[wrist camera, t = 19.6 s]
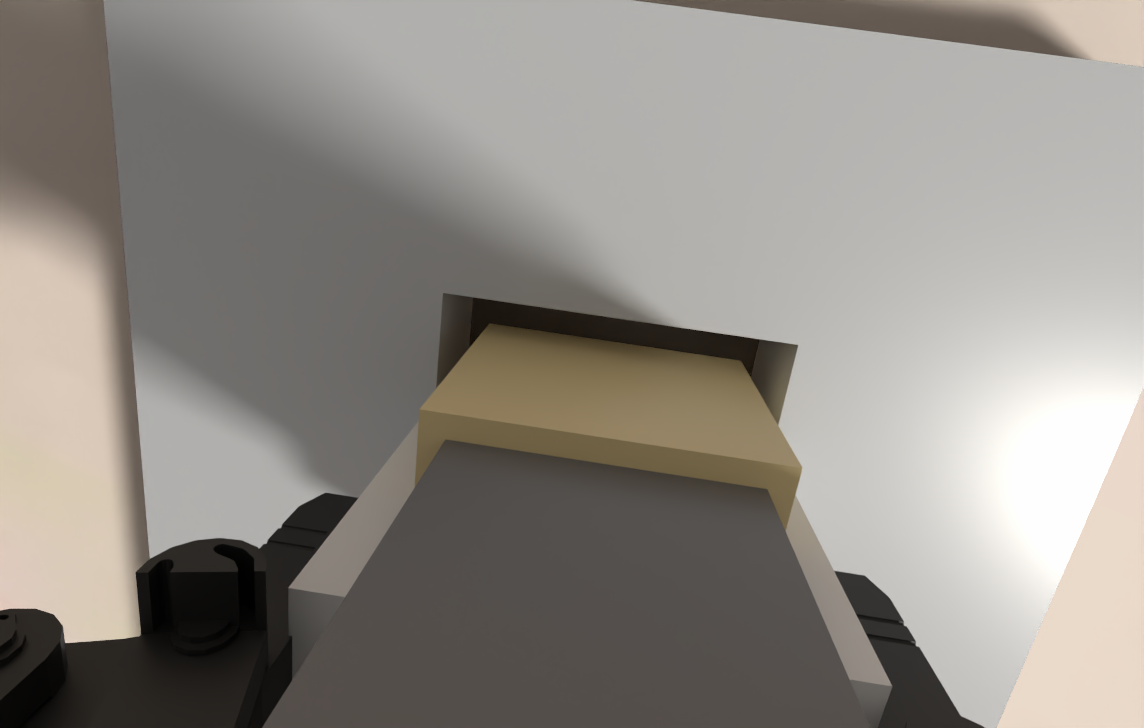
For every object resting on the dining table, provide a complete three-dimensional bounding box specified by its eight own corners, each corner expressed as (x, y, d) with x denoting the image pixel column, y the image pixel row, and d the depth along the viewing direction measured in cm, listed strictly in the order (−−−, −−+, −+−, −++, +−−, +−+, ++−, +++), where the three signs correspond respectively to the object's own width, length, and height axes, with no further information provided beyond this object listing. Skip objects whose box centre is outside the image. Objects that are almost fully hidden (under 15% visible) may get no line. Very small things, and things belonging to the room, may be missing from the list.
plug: (468, 539, 16) (225, 1137, 6) (489, 323, 14) (198, 680, 4) (693, 575, 15) (803, 1248, 6) (740, 360, 14) (1003, 817, 4)
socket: (237, 834, 22) (180, 933, 19) (203, -24, 14) (97, -70, 11) (824, 937, 22) (854, 1055, 19) (1137, 99, 14) (1274, 83, 11)
